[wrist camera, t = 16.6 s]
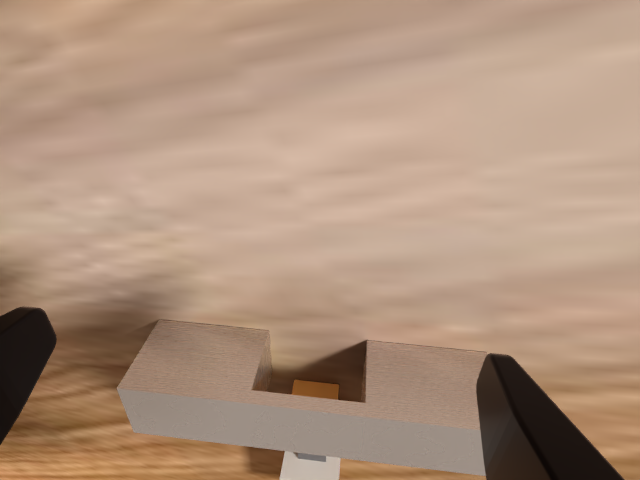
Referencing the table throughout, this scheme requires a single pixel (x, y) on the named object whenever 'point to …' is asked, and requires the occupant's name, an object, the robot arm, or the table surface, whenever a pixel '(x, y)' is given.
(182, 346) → the housing
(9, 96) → the table surface
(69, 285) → the table surface
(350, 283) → the table surface
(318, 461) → the plug
